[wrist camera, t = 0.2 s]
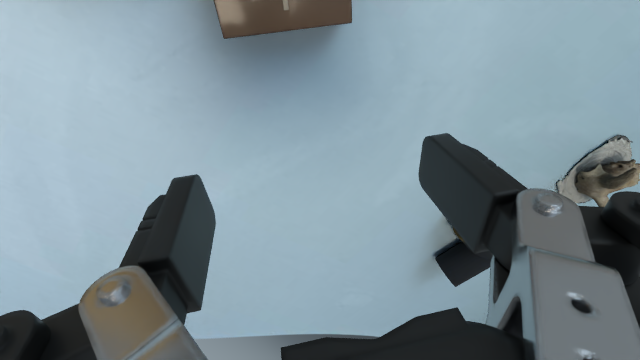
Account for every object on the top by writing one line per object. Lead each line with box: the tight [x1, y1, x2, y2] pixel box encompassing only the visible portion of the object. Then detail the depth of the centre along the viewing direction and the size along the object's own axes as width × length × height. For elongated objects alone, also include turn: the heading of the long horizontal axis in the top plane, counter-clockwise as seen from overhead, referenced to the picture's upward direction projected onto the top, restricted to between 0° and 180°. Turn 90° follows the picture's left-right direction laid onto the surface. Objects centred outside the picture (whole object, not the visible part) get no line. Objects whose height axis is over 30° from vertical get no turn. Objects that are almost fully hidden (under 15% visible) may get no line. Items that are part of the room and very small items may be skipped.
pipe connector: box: [435, 226, 493, 287], centre depth 42 cm, size 12×5×15 cm
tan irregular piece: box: [557, 135, 640, 207], centre depth 40 cm, size 10×12×6 cm
